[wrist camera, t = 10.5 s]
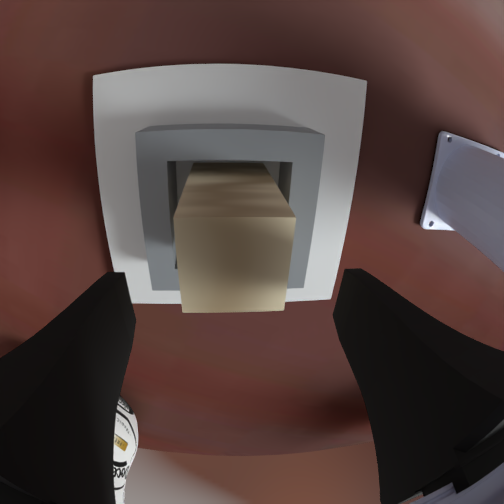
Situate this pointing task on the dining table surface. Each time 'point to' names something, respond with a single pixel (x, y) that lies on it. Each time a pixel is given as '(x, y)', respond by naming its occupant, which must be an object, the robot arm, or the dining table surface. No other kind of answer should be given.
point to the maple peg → (233, 239)
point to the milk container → (123, 447)
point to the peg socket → (225, 160)
